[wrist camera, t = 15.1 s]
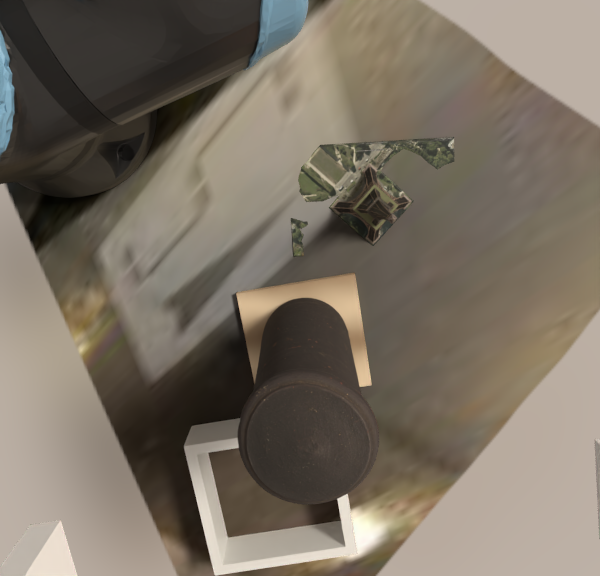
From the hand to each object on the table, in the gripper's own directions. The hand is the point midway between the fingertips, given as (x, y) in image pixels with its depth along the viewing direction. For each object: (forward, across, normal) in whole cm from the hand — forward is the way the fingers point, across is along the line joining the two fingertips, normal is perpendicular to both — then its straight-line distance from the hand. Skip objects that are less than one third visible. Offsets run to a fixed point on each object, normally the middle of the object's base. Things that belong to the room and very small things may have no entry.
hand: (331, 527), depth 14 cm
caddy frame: (+39, -7, -22) cm, 45 cm away
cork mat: (+39, -1, -8) cm, 40 cm away
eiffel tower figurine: (+40, +7, +4) cm, 40 cm away
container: (+38, -1, -8) cm, 39 cm away
